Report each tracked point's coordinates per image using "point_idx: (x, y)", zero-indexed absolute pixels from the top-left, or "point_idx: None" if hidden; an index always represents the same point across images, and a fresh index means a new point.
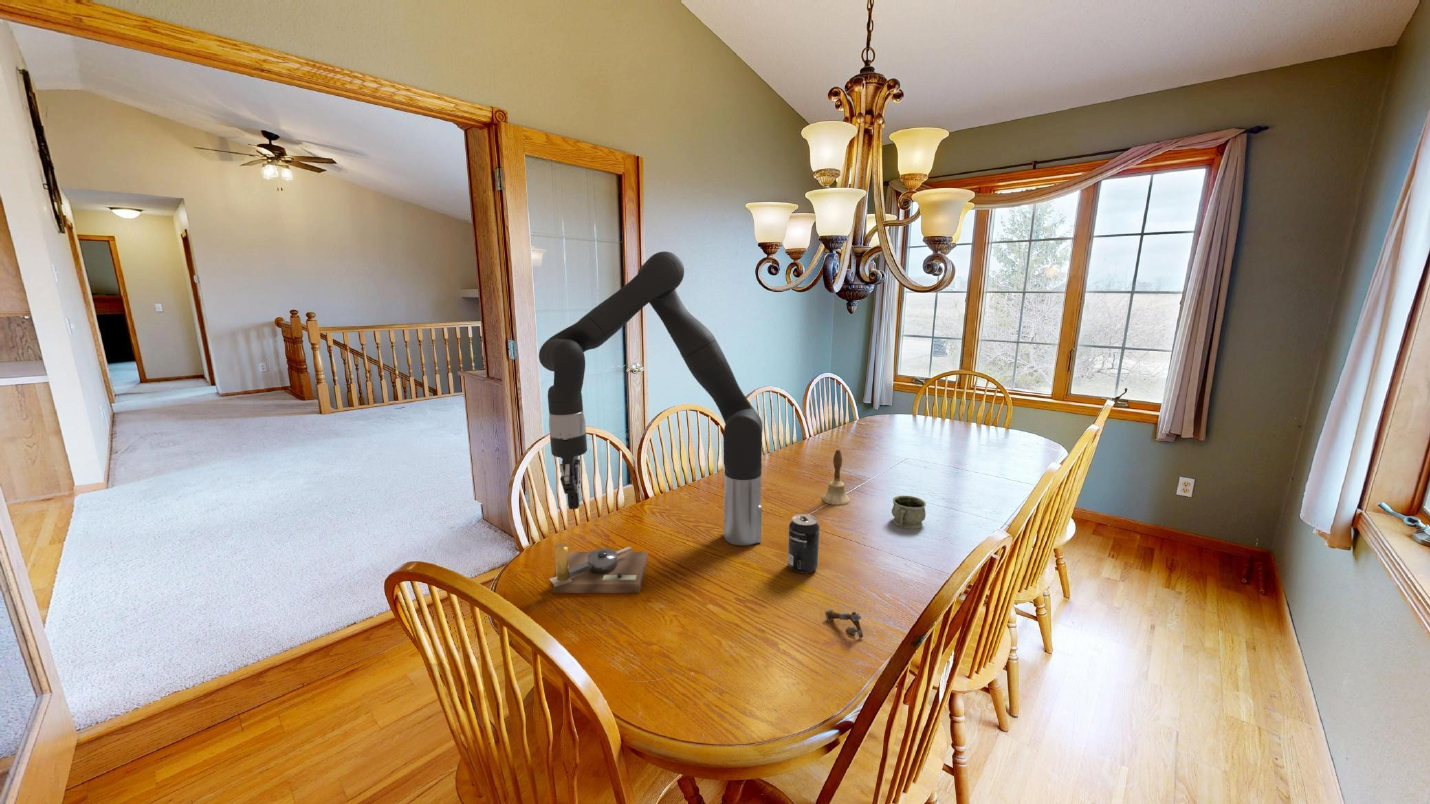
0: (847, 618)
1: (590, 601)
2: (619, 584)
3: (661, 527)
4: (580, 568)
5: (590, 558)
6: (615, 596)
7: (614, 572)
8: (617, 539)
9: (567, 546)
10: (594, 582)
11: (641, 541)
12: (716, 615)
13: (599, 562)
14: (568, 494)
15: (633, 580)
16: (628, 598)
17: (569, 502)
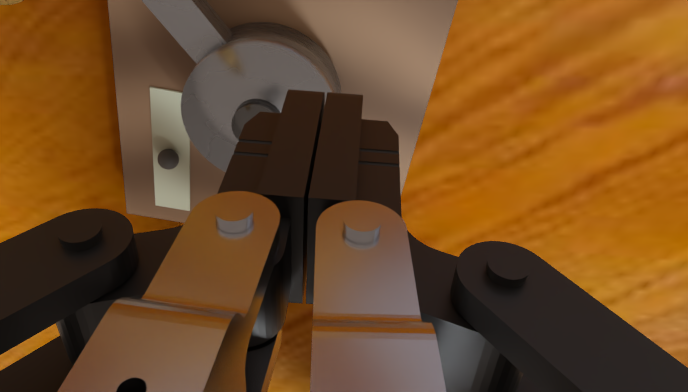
0: None
1: (62, 16)
2: (121, 149)
3: (654, 299)
4: (148, 5)
5: (228, 63)
6: (110, 113)
7: None
8: (626, 134)
9: (3, 2)
10: (126, 52)
11: (554, 225)
12: (44, 342)
13: (182, 107)
14: (263, 195)
15: (152, 197)
16: (101, 155)
17: (235, 147)
